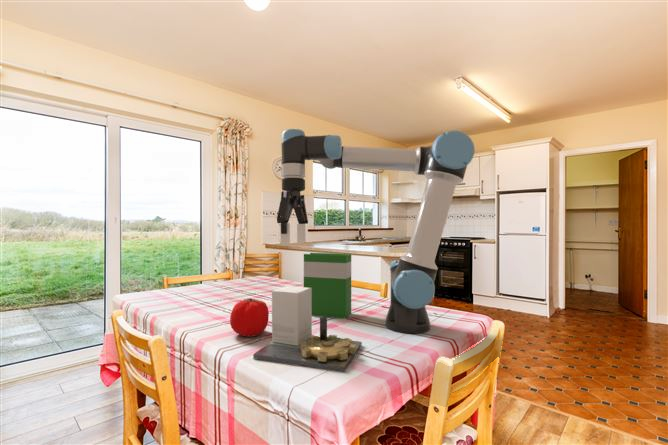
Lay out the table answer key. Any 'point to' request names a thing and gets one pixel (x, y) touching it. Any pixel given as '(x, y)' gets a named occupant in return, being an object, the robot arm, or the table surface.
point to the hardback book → (329, 283)
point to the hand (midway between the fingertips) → (293, 243)
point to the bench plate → (295, 357)
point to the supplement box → (291, 315)
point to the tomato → (249, 317)
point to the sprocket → (327, 345)
